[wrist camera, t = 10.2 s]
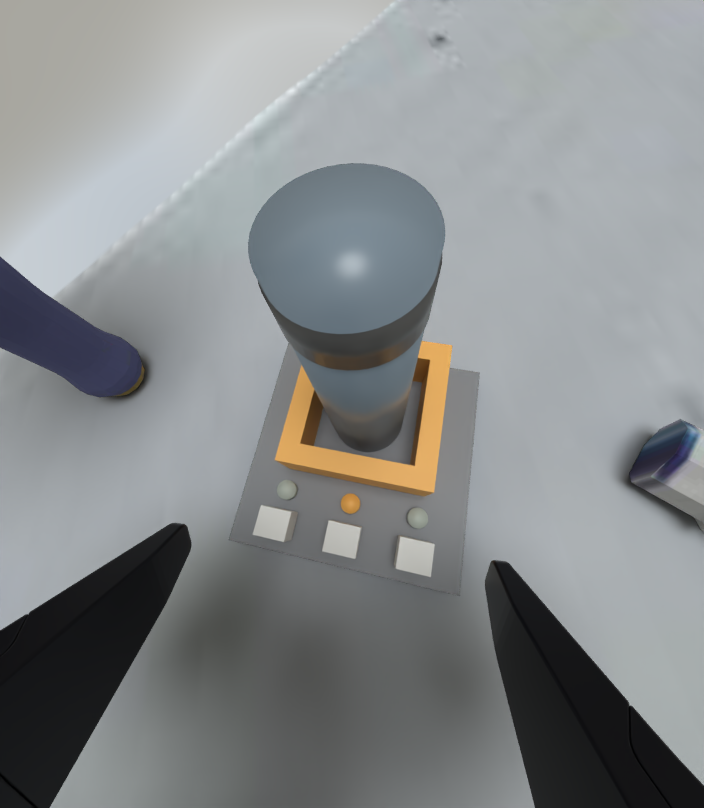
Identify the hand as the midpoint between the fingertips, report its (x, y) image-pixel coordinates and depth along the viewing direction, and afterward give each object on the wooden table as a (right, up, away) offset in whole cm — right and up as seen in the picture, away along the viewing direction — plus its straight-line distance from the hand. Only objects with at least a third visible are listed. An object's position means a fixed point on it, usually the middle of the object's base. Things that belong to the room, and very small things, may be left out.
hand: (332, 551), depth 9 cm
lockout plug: (+1, +3, +9) cm, 10 cm away
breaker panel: (+1, +1, +10) cm, 10 cm away
